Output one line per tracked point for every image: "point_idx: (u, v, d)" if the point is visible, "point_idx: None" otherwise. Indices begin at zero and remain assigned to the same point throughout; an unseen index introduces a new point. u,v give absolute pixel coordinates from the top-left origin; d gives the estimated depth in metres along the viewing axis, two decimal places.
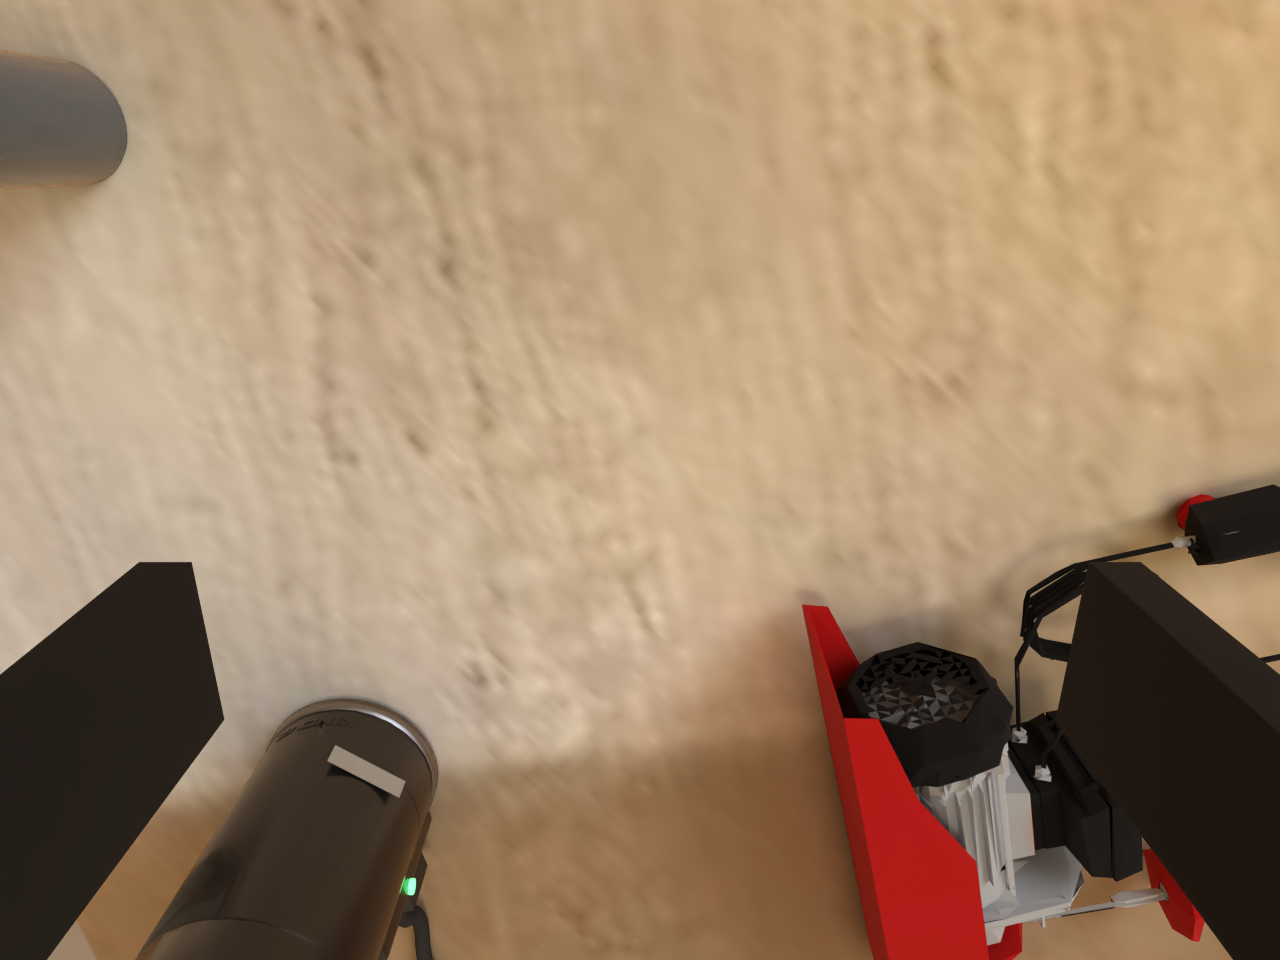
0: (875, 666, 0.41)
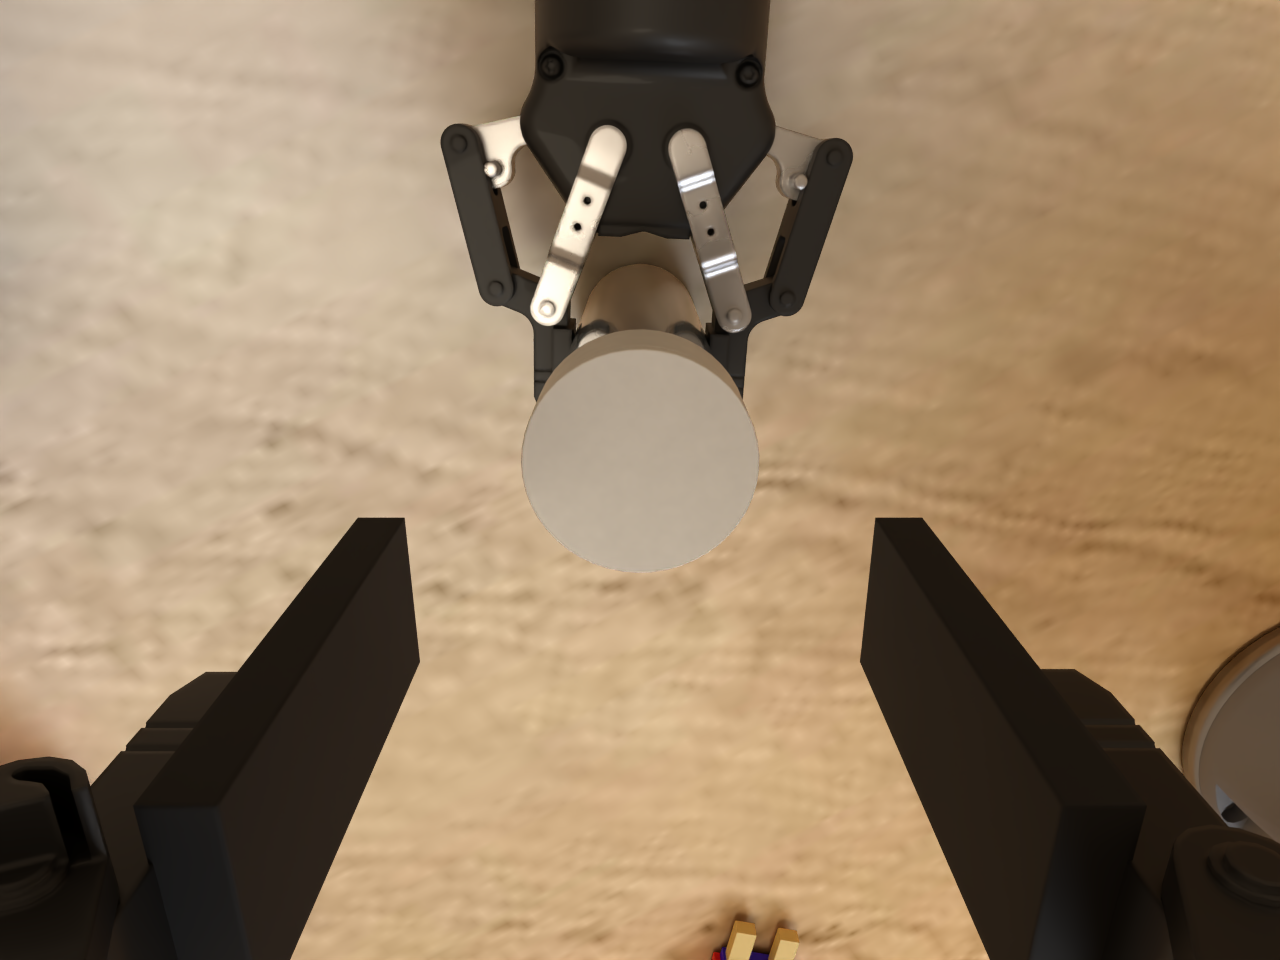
0: None
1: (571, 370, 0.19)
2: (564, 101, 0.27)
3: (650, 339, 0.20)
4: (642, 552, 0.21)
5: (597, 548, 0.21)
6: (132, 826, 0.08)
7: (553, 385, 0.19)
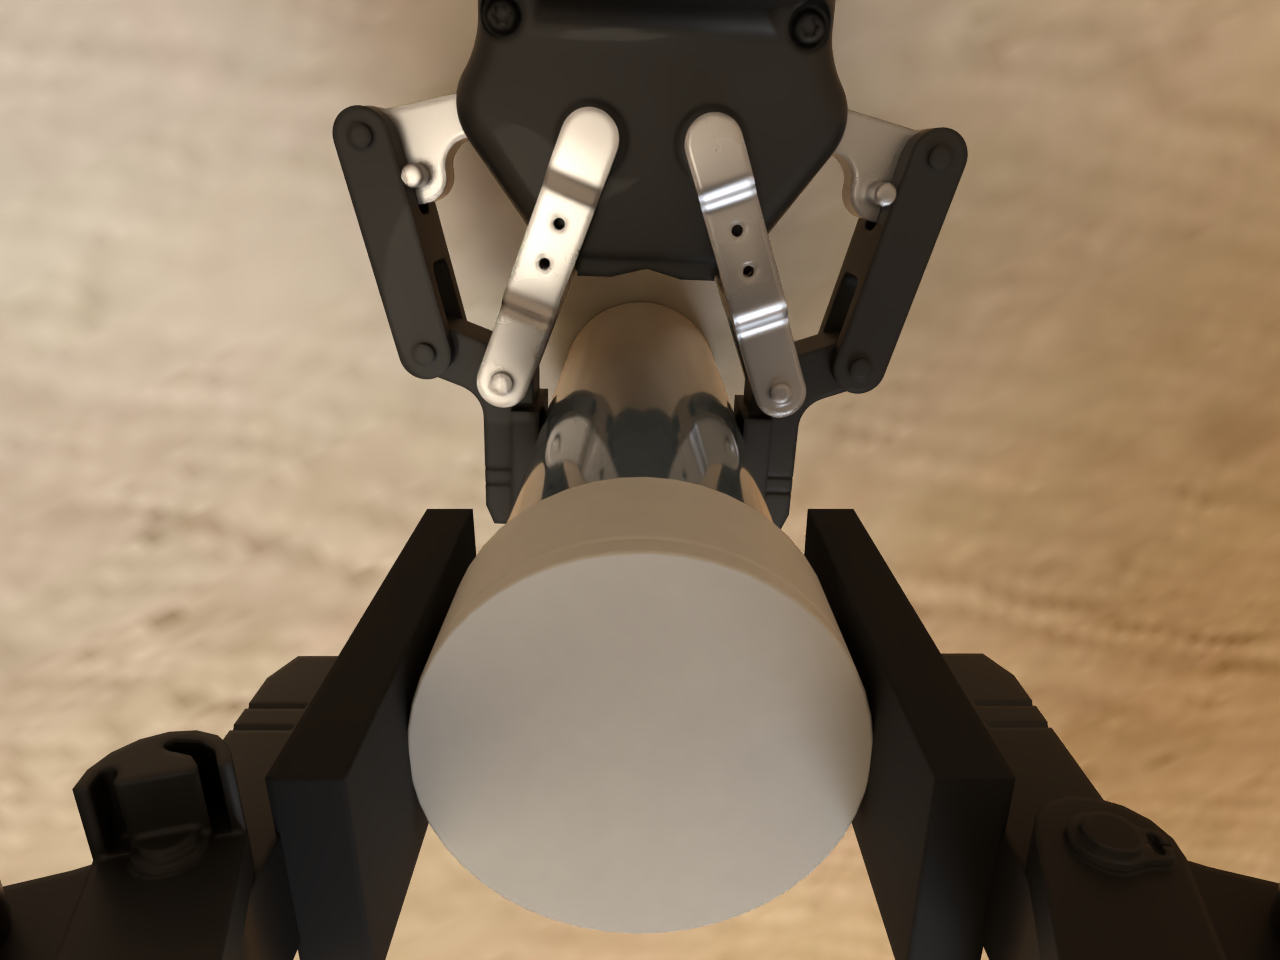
0: None
1: (500, 591, 0.09)
2: (522, 70, 0.18)
3: (660, 512, 0.10)
4: (644, 902, 0.11)
5: (558, 897, 0.11)
6: (254, 800, 0.09)
7: (465, 617, 0.10)
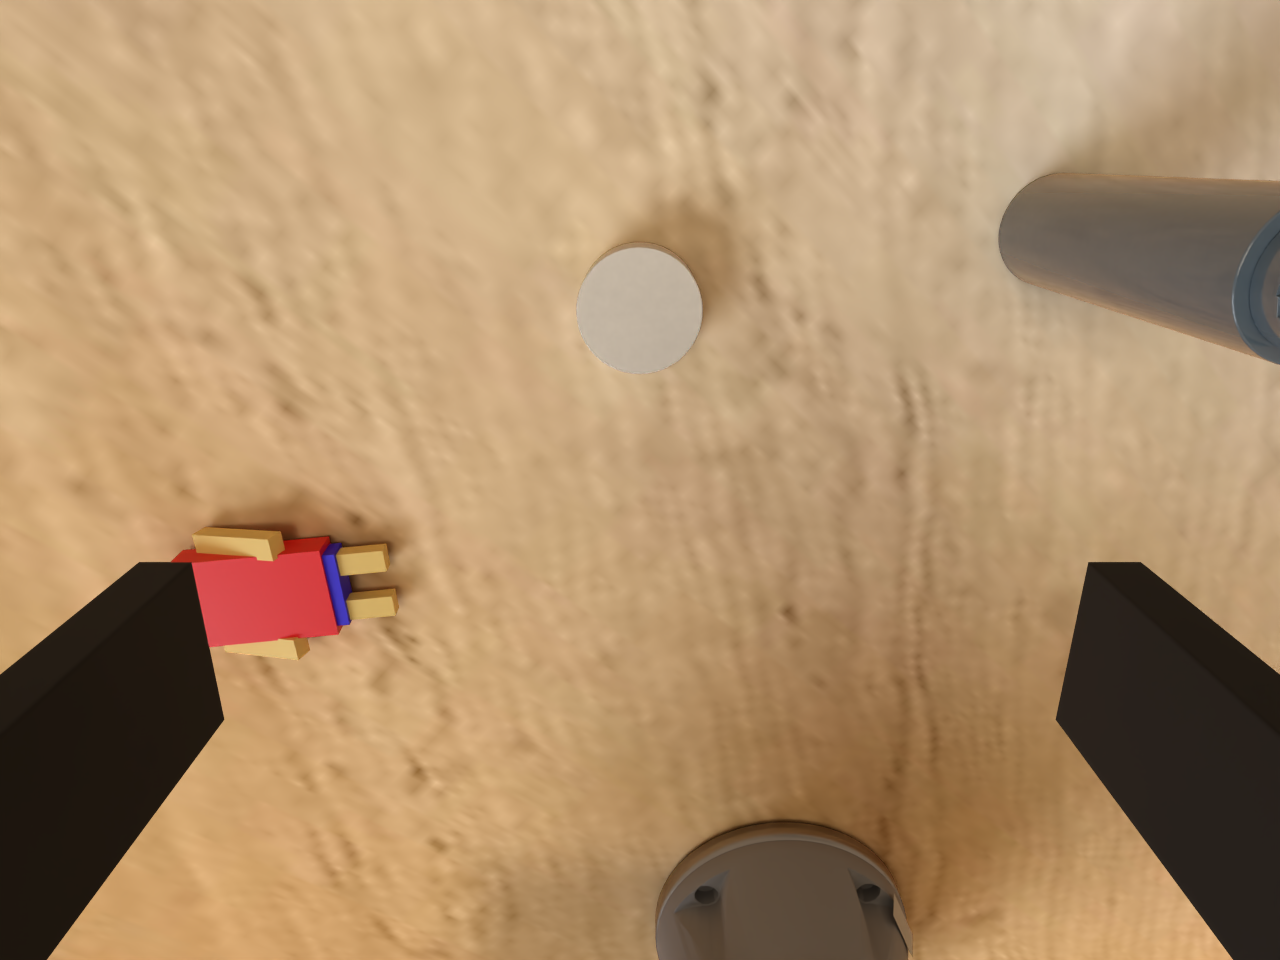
0: None
1: (638, 373, 0.39)
2: None
3: None
4: (667, 269, 0.37)
5: (687, 285, 0.37)
6: None
7: (651, 372, 0.39)
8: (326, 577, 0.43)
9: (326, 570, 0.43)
